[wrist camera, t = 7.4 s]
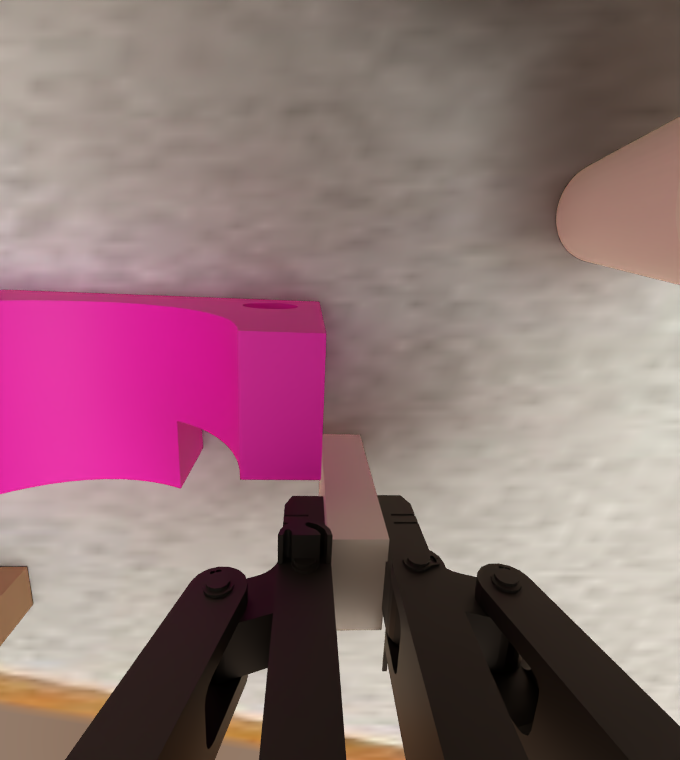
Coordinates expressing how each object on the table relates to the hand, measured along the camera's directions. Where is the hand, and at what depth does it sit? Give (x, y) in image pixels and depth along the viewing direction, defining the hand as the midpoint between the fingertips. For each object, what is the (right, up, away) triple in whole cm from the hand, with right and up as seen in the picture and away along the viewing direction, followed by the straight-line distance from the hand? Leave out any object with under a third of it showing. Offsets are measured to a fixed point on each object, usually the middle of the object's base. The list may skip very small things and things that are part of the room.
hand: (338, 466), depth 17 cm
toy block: (-8, +4, +1) cm, 9 cm away
